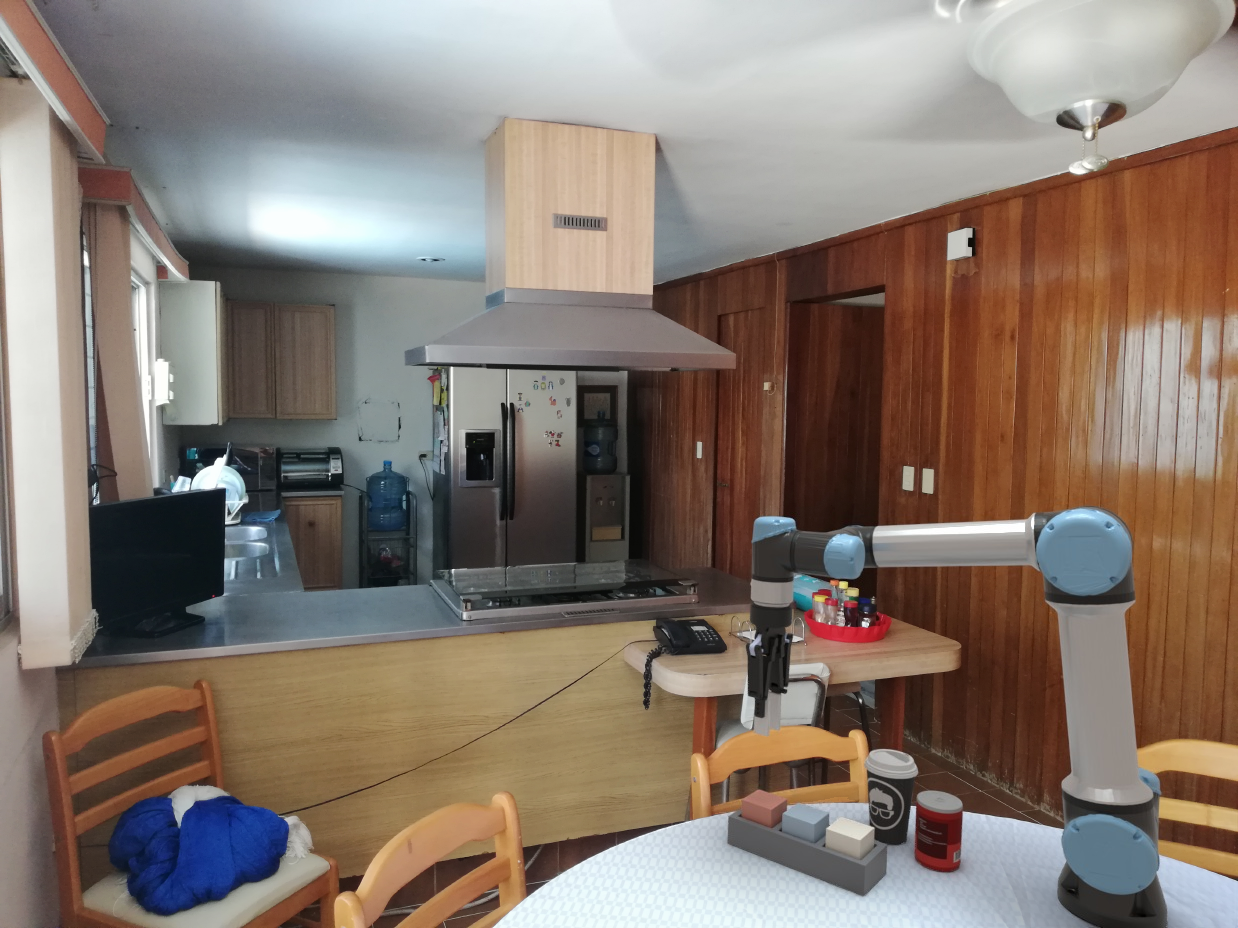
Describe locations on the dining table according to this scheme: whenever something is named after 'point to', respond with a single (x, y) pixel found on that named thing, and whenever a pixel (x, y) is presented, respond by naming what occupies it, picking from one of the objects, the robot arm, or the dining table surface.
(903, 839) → the coffee cup
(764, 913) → the dining table surface
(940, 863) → the canned food
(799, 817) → the key blue
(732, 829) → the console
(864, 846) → the key ivory
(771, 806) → the key brick
